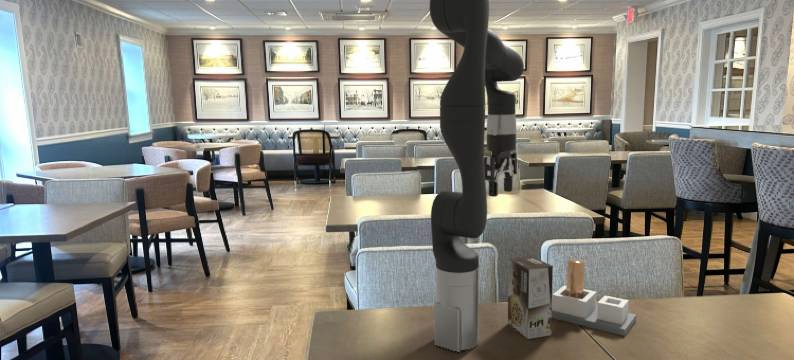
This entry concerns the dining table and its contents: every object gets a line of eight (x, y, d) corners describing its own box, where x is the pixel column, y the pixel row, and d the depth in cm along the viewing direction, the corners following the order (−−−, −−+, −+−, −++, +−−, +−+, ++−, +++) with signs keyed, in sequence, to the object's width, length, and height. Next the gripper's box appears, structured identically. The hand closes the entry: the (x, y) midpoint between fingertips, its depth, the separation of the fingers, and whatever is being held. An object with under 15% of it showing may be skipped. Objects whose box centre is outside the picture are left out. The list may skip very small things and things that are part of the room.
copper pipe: (579, 313, 121) (581, 265, 119) (562, 309, 123) (565, 261, 121) (585, 308, 124) (587, 261, 122) (568, 304, 126) (571, 258, 124)
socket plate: (624, 336, 112) (625, 312, 111) (550, 317, 122) (550, 295, 121) (636, 320, 119) (637, 298, 119) (565, 304, 130) (565, 284, 129)
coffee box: (552, 335, 113) (554, 266, 110) (527, 340, 111) (528, 269, 109) (530, 319, 121) (531, 254, 119) (506, 323, 119) (507, 257, 117)
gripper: (500, 130, 138) (500, 188, 141) (474, 133, 127) (474, 196, 130) (526, 131, 134) (525, 191, 136) (501, 134, 123) (501, 199, 125)
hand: (500, 193), depth 133 cm, fingers open, 8 cm apart
